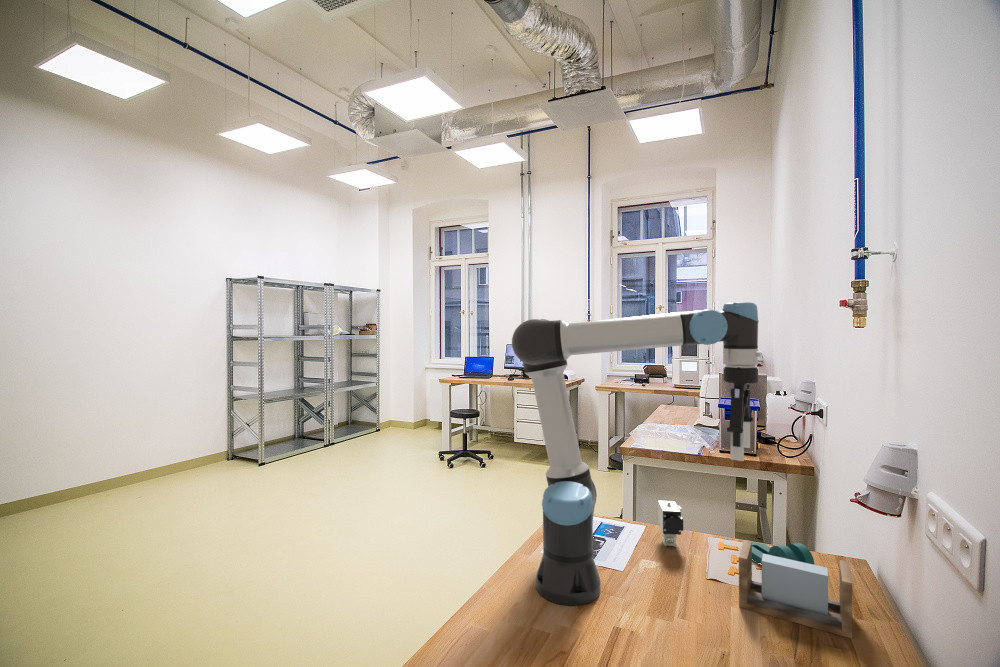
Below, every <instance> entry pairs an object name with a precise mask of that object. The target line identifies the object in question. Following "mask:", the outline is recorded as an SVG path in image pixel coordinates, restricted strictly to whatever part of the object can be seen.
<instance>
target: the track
mask: <svg viewBox="0 0 1000 667" xmlns="http://www.w3.org/2000/svg"><path fill="white" fill-rule="evenodd" d="M752 542H753V541H751V540H748V539H744V540H743V543H742V545H741V548H740V552H739V555H738V607H739V608H743V609H746V610H750V611H753V612H757V613H760V614H763V615H767V616H771V617H774V618H778V619H780V620H785V621H788V622H792V623H796V624H799V625H803V626H806V627H810V628H813V629H816V630H820V631H824V632H827V633H831V634H835V635H838V636H841V637H845V638H848V639H853V580H852V574H851V568H850V561H846V560H842V559H841V560H840V559H839V563H838V564H839V568H838V569H839V585H838V586H839V593H838V594H839V596H838V598H839V601H835V600H831V599H828V615H825V614H821V613H817V612H813V611H810V610H806V609H802V608H798V607H795V606H791V605H787V604H783V603H780V602H776V601H772V600H769V599H765V598H762V582H761V581H755V580H753V560H752Z"/></svg>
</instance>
